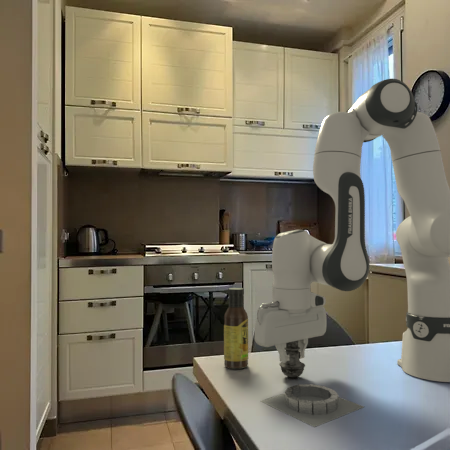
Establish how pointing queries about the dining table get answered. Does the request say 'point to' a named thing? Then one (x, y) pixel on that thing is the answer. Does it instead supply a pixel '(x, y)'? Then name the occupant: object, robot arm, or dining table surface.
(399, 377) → the dining table surface
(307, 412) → the ring
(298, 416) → the board
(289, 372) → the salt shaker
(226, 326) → the sauce bottle
